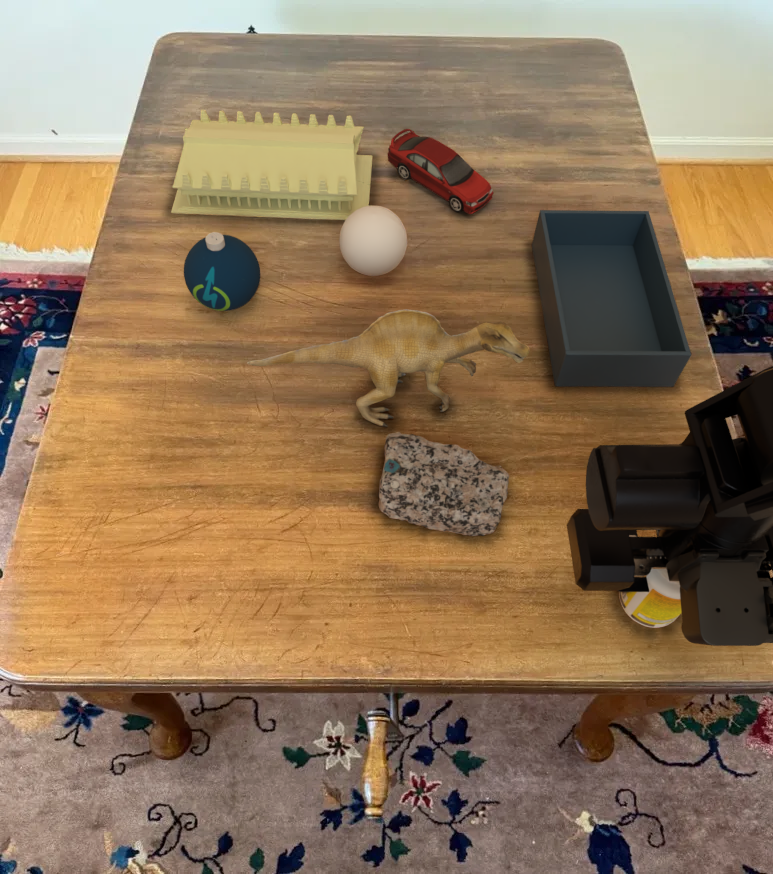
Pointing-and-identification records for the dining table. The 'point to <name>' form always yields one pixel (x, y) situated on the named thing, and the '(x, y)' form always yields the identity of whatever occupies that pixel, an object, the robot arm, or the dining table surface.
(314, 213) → the model building
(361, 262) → the ball
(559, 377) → the storage tote
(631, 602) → the supplement bottle
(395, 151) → the toy car
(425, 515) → the rock
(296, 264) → the dining table surface
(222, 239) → the christmas ornament
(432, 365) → the dinosaur figurine
